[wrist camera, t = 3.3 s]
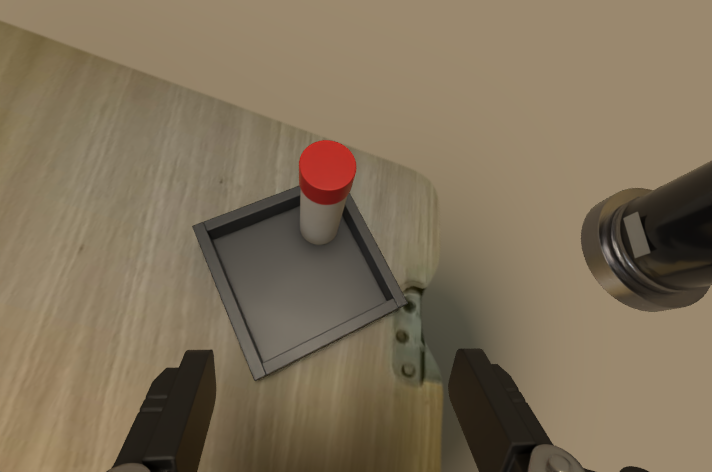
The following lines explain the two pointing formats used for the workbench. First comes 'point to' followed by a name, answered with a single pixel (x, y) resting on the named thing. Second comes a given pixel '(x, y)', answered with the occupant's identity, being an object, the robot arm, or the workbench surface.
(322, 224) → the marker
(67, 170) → the workbench surface
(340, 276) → the tray
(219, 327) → the workbench surface
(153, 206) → the workbench surface
